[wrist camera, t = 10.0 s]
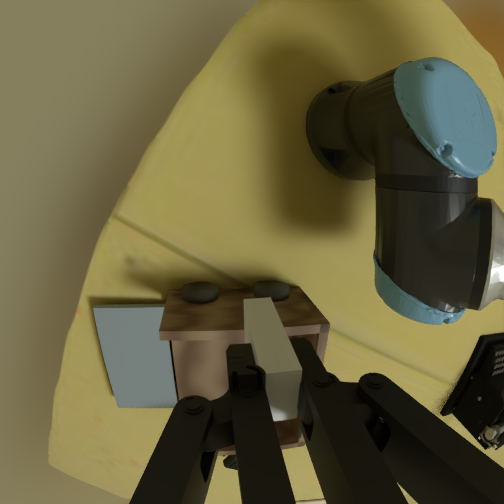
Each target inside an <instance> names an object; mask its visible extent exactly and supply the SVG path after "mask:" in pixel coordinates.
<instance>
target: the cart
mask: <svg viewBox="0 0 504 504" xmlns="http://www.w3.org/2000/svg"><path fill="white" fill-rule="evenodd" d="M269 297H271V299H272V302H273V304H274V306H275V308H276V311H277V313H278V315H279V318H280V320H281V322H282V324H283V327H284V329H285V331H286V333H287V336H288V338H289V339H293V338H302V337H304V338H305V339H307V340H308V341H310V342H311V344H312V345H313V347H314V350H315V351H316V353H317V355H318V356H319V358H320V360H321V362H322V364H323V361H324V356H325V350H326V345H327V339H328V333H329V327H330V323H329V322H328V320H327V319H326V318H325V317H324V315H323V314H322V313H321V312H320V311H319V309H318V308H317V307H316V306H315V305H314V303H313V302H312V301H311V300H310V299H309V297H308V296H307V295H306V294H305V293H304V291H303V290H302V289H301V288H300V287H289V285H287V284H286V283H283V282H279V281H261V282H258V283H256V284H255V285H254V289H218V287H217V286H216V285H214V284H212V283H208V282H193V283H189V284H186V285H184V286H183V287H182V290H169V291H168V295H167V299H166V303H165V307H164V311H163V315H162V320H161V324H160V328H159V337H160V341H172V350H173V358H174V366H175V374H176V381H177V388H178V395H179V400H180V399H182V398H184V397H186V396H190V395H199V396H202V397H205V398H207V399H208V400H210V401H211V400H214V399H217V398H220V397H221V396H223V395H224V394H225V393H226V392H227V390H228V388H229V385H228V374H227V360H226V350H227V348H228V347H229V345H230V344H245V333H244V299H254V298H269ZM300 419H301V417H300V414H299V411H298V413H297V418H295V419H288V420H281V421H274V424H275V428H276V432H277V436H278V439H279V443H280V447H281V450H282V449H288V448H294V447H300V446H304V445H305V440H304V437H303V434H302V435H301V438H298V433H299V426H300ZM221 455H236V453H235V445H231V446H228V447H225V448H222V449H219V450H218V455H217V456H221Z"/></svg>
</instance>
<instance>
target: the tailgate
mask: <svg viewBox="0 0 504 504" xmlns="http://www.w3.org/2000/svg"><path fill="white" fill-rule="evenodd" d="M164 307H165V304H113V305H94V307H93V311H94V316H95V321H96V326H97V331H98V336H99V340H100V344H101V349H102V353H103V357H104V361H105V365H106V368H107V372H108V376H109V379H110V383H111V386H112V390H113V393H114V396H115V399H116V402H117V406H118V408H174V407H175V405H176V403H177V402H178V400H177V394H176V387H175V381H174V373H173V366H172V358H171V350H170V341H160V337H159V328H160V324H161V320H162V315H163V311H164Z"/></svg>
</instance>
